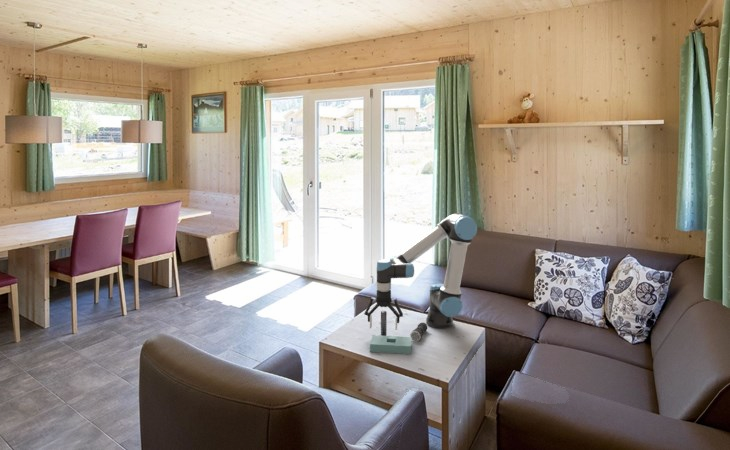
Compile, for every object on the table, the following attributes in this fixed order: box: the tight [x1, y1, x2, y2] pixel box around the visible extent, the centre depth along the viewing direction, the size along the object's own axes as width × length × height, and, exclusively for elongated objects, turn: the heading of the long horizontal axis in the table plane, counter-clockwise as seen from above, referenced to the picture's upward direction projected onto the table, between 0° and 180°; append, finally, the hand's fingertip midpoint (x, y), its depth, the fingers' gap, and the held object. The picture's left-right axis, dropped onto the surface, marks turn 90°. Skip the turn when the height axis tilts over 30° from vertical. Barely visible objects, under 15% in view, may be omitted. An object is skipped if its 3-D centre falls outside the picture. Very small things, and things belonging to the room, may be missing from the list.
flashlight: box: [409, 322, 428, 342], centre depth 237 cm, size 15×5×5 cm, turn 157°
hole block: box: [369, 334, 413, 355], centre depth 222 cm, size 20×11×4 cm, turn 82°
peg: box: [380, 310, 388, 336], centre depth 234 cm, size 3×3×14 cm
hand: (383, 328), depth 235 cm, fingers open, 13 cm apart
